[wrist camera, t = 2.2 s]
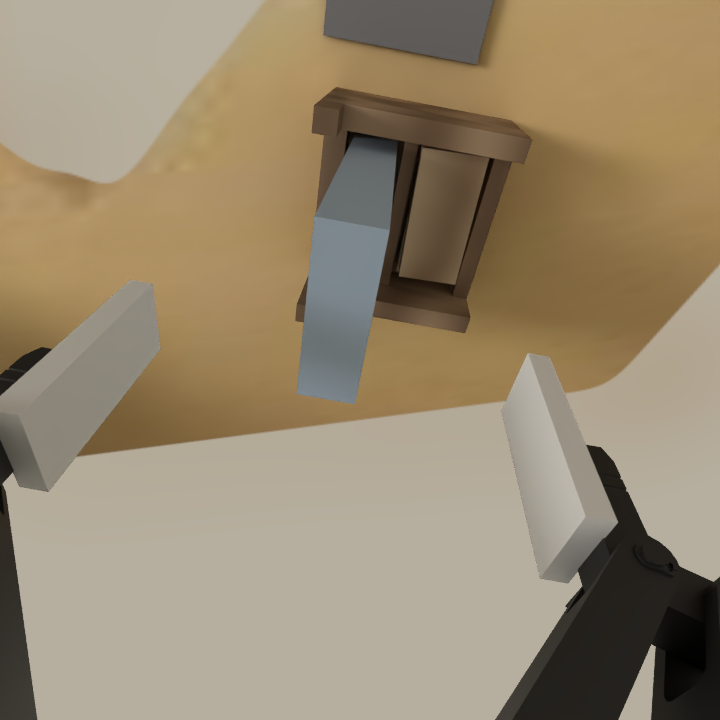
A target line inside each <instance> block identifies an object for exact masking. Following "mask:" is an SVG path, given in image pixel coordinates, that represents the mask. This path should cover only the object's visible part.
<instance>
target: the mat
mask: <svg viewBox="0 0 720 720" xmlns="http://www.w3.org/2000/svg"><path fill="white" fill-rule="evenodd" d="M492 4H493V0H327V1H326V12H325V23H324V35H326V36H331V37H336V38H341V39H346V40H352V41H357V42H362V43H367V44H372V45H377V46H383V47H388V48H393V49H398V50H403V51H408V52H414V53H419V54H424V55H429V56H434V57H439V58H445V59H450V60H455V61H460V62H465V63H470V64H475V65H477V62H478V58H479V54H480V50H481V46H482V43H483V39H484V35H485V31H486V27H487V23H488V19H489V16H490V12H491V8H492Z"/></svg>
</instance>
